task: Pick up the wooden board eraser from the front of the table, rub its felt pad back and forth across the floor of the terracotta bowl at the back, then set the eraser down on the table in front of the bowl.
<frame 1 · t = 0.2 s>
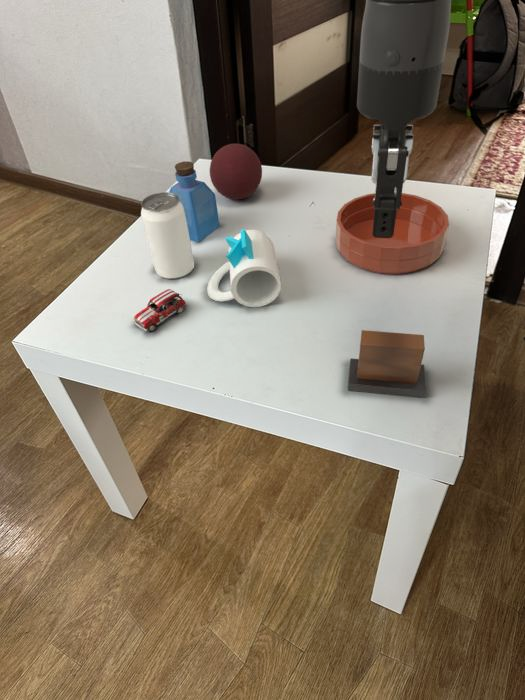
hand: (383, 216, 56), 17 cm above the table, tool pointing down, fingers open, 8 cm apart
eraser: (385, 380, 61), on the table
decorative ball: (238, 197, 98), on the table
bowl: (388, 244, 82), on the table
mug: (242, 285, 77), on the table
toy car: (163, 317, 73), on the table
can: (175, 269, 81), on the table
perfume bottle: (196, 231, 90), on the table
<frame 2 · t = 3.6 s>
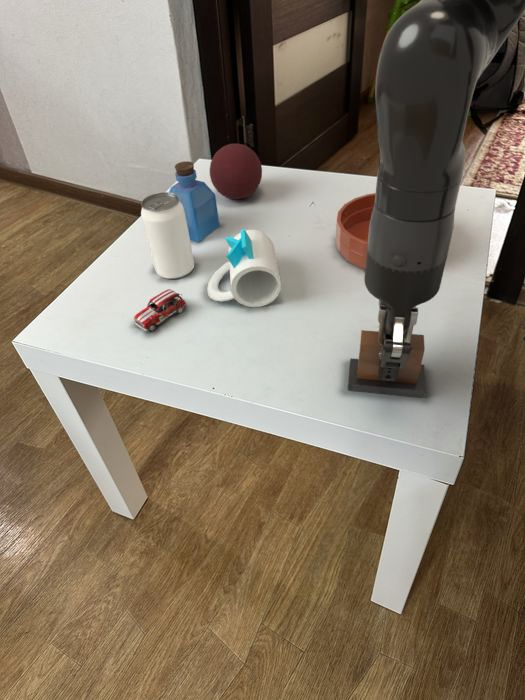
hand: (387, 368, 60), 2 cm above the table, tool pointing down, fingers closed on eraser, 2 cm apart
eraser: (385, 380, 61), on the table, touching gripper
everything else where it was.
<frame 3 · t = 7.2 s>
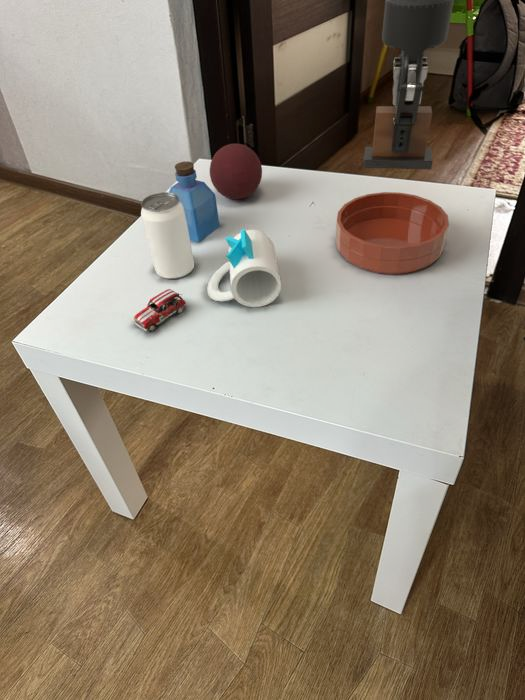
hand: (399, 146, 68), 17 cm above the table, tool pointing down, fingers closed on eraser, 2 cm apart
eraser: (396, 161, 69), point 15 cm above the table, touching gripper
everything else where it was.
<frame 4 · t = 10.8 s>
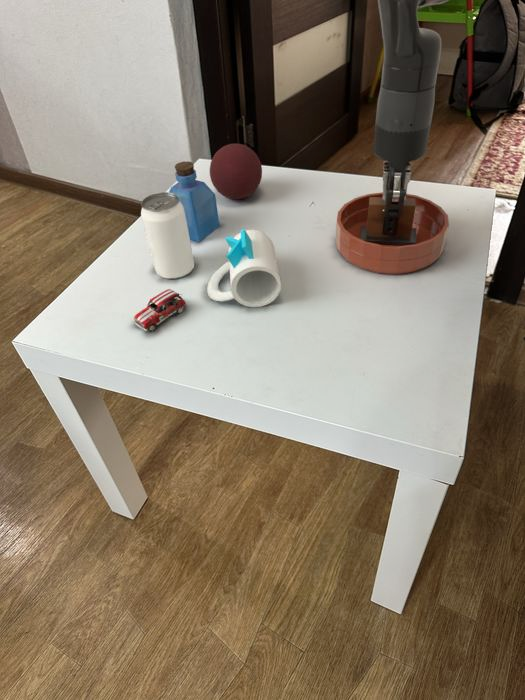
hand: (389, 228, 81), 3 cm above the table, tool pointing down, fingers closed on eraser, 2 cm apart
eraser: (387, 240, 82), point 1 cm above the table, touching gripper
everything else where it was.
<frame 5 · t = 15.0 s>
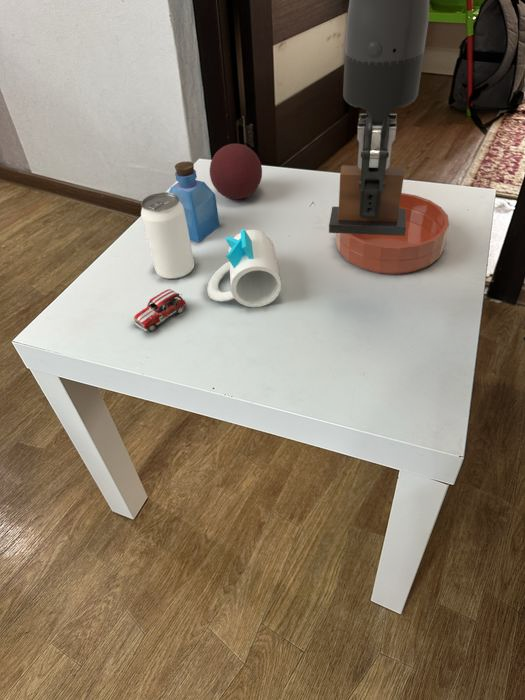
hand: (369, 209, 60), 16 cm above the table, tool pointing down, fingers closed on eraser, 2 cm apart
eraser: (367, 225, 61), point 14 cm above the table, touching gripper
everything else where it was.
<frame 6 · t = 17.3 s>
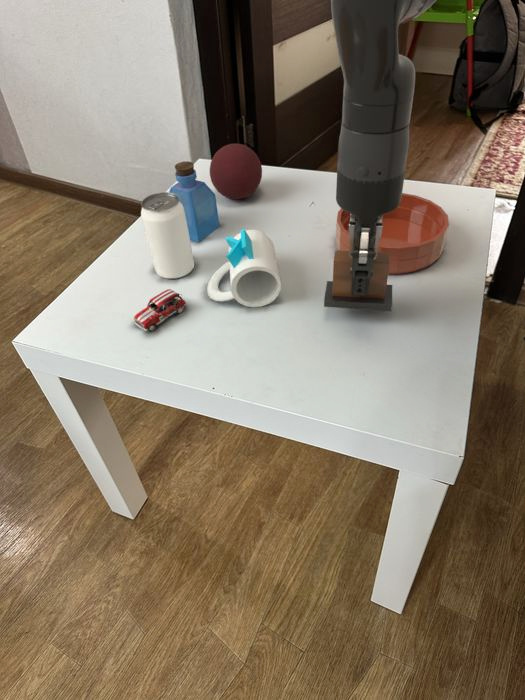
hand: (359, 287, 67), 5 cm above the table, tool pointing down, fingers closed on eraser, 2 cm apart
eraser: (357, 299, 69), point 3 cm above the table, touching gripper
everything else where it was.
when the fingers open (2 cm above the table, at t = 18.3 s): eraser stays where it is, on the table.
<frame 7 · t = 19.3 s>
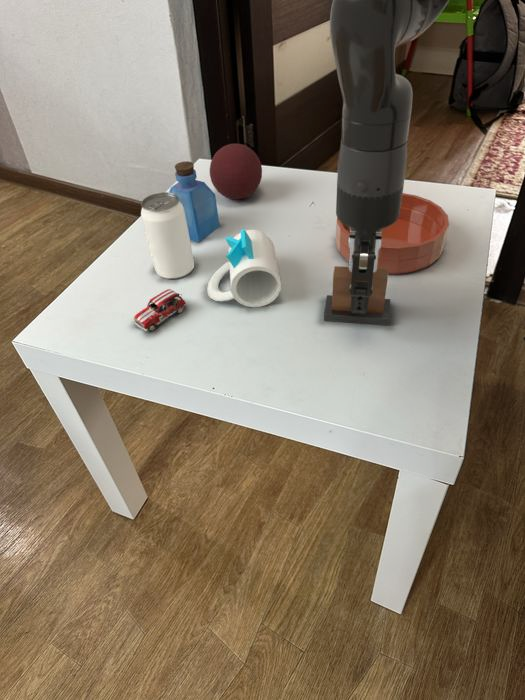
hand: (360, 291, 68), 4 cm above the table, tool pointing down, fingers open, 8 cm apart
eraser: (356, 313, 70), on the table
everything else where it was.
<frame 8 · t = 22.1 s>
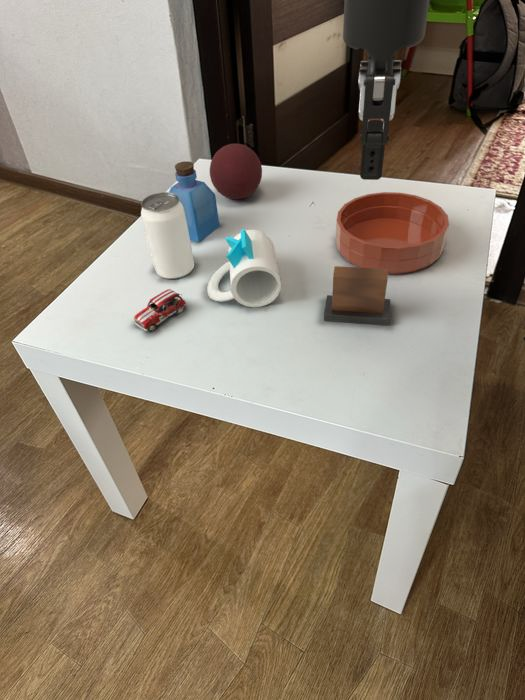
hand: (371, 160, 55), 22 cm above the table, tool pointing down, fingers open, 8 cm apart
nothing on the table moved.
at the end: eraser inside the target area on the table beside the bowl (0.2 cm from its centre), on the table; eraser tilted 0°; the gripper is holding nothing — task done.
